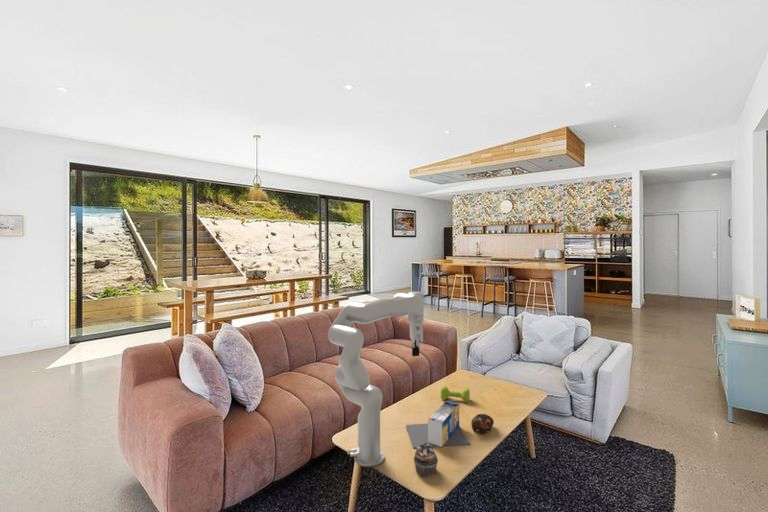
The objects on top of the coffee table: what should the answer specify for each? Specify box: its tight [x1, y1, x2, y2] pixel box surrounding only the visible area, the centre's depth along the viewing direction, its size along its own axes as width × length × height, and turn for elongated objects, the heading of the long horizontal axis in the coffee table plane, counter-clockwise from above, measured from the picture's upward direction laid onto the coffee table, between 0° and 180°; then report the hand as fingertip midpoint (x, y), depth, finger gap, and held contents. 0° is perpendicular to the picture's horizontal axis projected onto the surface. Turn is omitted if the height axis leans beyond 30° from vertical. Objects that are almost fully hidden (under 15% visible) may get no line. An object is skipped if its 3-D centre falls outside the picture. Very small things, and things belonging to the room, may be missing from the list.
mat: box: [405, 423, 471, 450], centre depth 177 cm, size 26×20×1 cm
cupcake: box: [413, 443, 439, 478], centre depth 150 cm, size 10×10×10 cm
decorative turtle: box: [470, 413, 495, 435], centre depth 181 cm, size 10×15×8 cm, turn 138°
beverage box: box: [427, 400, 460, 448], centre depth 177 cm, size 7×11×22 cm
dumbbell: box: [440, 385, 471, 404], centre depth 215 cm, size 16×8×7 cm, turn 73°
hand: (415, 355), depth 180 cm, fingers closed
